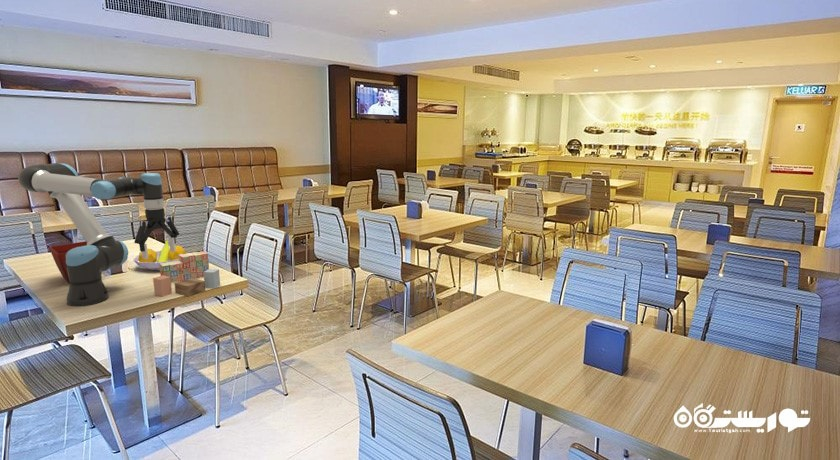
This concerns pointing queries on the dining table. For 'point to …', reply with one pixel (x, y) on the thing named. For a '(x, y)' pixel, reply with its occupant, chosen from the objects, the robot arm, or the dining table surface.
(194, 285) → the walnut base
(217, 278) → the greyblue block
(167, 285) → the terracotta block
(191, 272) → the stack of blocks
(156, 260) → the fruit bowl
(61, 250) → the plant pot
